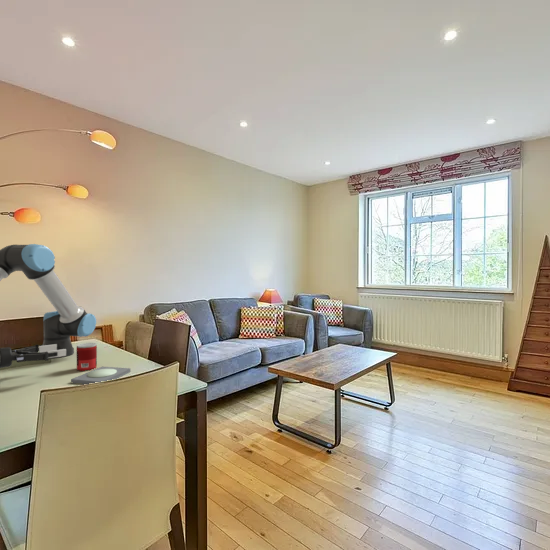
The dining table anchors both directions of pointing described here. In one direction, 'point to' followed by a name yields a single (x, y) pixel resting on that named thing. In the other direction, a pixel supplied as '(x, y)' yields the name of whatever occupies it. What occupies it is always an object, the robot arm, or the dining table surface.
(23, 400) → the dining table surface
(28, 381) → the dining table surface
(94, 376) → the board
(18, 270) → the robot arm
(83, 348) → the canned food
